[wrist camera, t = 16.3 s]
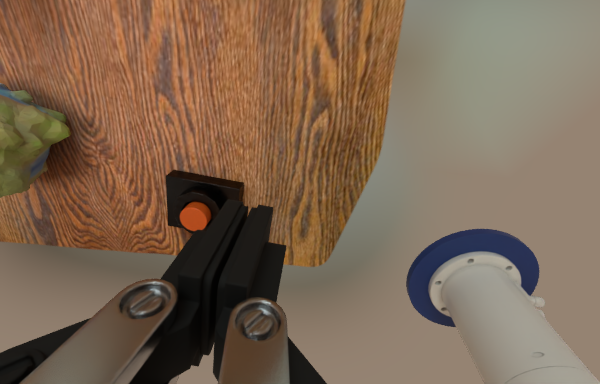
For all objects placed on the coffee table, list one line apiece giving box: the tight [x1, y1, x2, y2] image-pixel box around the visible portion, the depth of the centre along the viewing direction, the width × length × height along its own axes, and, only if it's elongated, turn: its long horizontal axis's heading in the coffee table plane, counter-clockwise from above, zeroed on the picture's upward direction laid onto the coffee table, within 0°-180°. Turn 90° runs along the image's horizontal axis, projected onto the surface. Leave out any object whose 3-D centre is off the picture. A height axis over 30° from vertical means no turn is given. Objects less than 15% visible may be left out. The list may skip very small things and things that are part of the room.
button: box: [180, 202, 211, 231], centre depth 37 cm, size 4×4×2 cm
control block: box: [166, 170, 244, 234], centre depth 40 cm, size 10×8×4 cm
